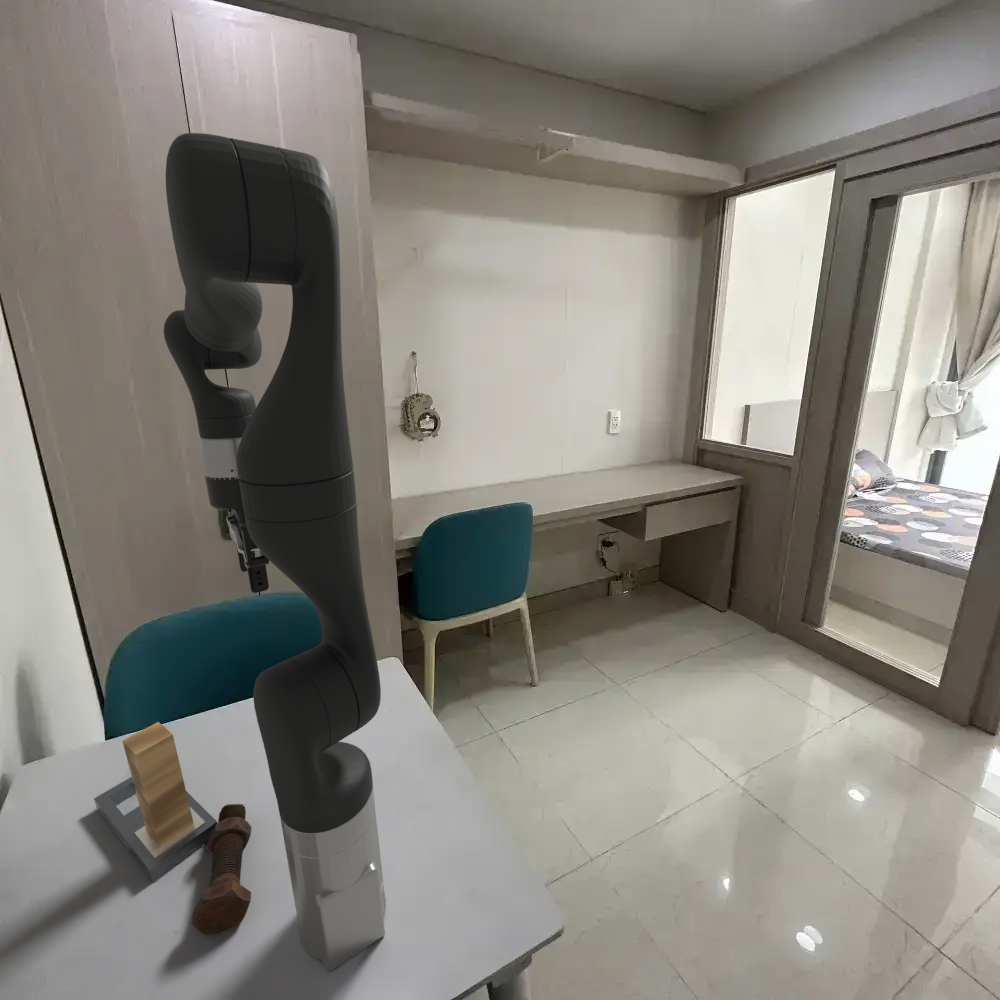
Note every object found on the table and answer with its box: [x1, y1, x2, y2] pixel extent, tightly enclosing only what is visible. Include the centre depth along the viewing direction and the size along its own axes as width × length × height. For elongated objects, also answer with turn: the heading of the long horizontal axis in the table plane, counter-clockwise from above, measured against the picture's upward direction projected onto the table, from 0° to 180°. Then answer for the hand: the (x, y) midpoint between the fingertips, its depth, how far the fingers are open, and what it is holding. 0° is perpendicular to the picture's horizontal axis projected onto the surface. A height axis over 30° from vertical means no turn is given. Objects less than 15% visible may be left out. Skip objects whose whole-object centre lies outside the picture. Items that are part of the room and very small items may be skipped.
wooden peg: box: [121, 721, 194, 847], centre depth 65 cm, size 4×4×14 cm
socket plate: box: [93, 776, 218, 883], centre depth 70 cm, size 18×8×2 cm, turn 55°
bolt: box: [191, 803, 252, 936], centre depth 63 cm, size 6×5×15 cm
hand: (254, 579), depth 73 cm, fingers open, 8 cm apart
